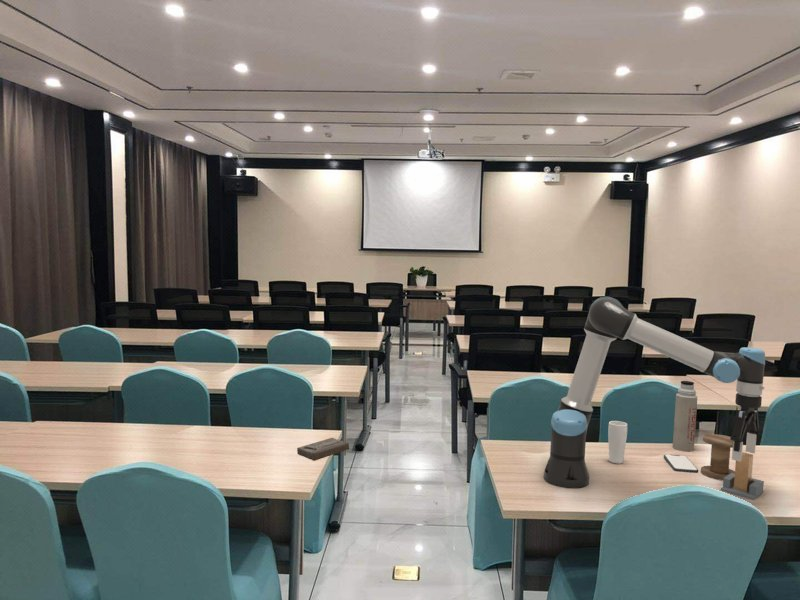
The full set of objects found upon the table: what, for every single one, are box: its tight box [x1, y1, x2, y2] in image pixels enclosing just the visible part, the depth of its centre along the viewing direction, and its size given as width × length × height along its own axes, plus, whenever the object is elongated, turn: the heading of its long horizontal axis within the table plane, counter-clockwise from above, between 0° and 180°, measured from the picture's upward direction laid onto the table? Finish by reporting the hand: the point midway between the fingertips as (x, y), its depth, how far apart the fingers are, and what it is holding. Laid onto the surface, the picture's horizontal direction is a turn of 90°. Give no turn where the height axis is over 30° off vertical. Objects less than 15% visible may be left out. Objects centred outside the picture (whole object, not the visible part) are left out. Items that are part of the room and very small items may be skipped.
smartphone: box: [663, 454, 699, 474], centre depth 228 cm, size 9×2×16 cm
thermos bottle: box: [672, 380, 698, 453], centre depth 247 cm, size 8×8×28 cm
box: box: [296, 437, 350, 462], centre depth 231 cm, size 11×17×3 cm, turn 136°
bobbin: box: [700, 433, 735, 481], centre depth 218 cm, size 12×12×13 cm
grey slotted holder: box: [720, 473, 765, 500], centre depth 203 cm, size 10×10×4 cm
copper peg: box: [734, 451, 754, 492], centre depth 203 cm, size 4×4×12 cm
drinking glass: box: [607, 420, 628, 465], centre depth 229 cm, size 7×7×15 cm
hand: (743, 456), depth 202 cm, fingers open, 13 cm apart
